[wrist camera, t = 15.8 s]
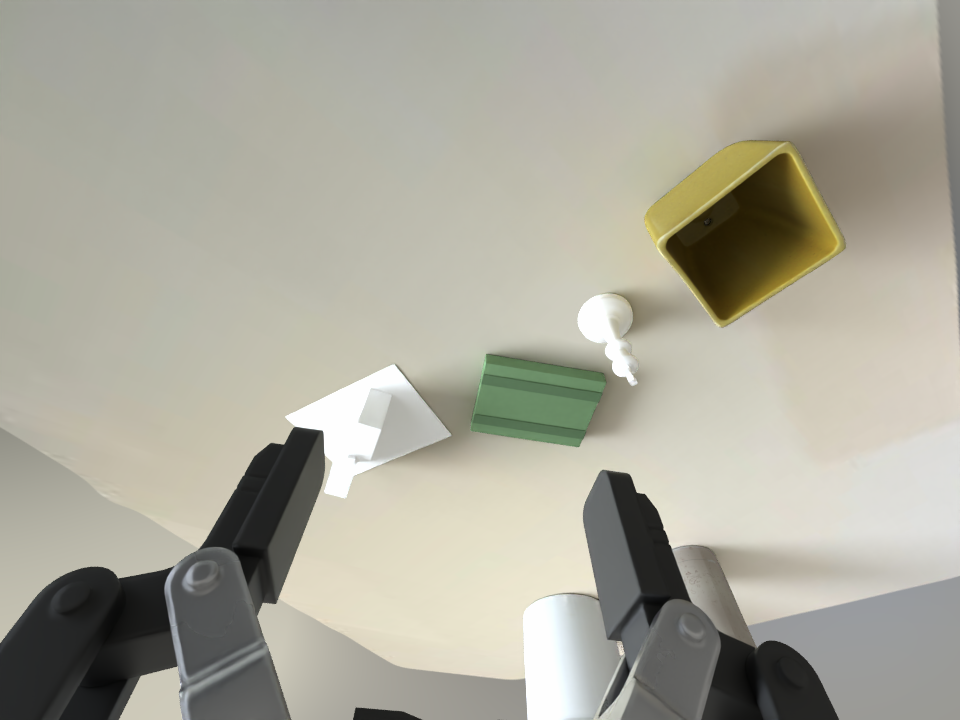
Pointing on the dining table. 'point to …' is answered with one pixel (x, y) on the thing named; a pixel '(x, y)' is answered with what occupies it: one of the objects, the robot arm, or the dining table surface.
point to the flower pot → (744, 227)
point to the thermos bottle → (711, 591)
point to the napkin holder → (370, 425)
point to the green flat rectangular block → (535, 400)
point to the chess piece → (611, 330)
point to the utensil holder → (566, 657)
